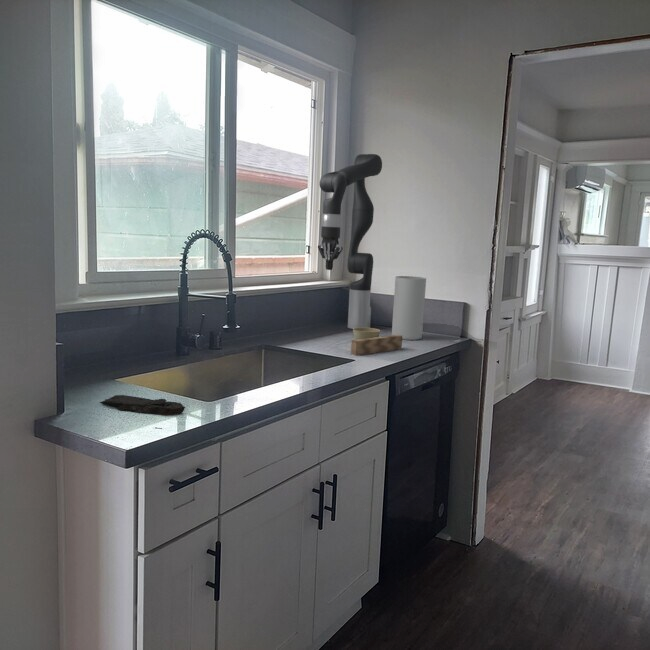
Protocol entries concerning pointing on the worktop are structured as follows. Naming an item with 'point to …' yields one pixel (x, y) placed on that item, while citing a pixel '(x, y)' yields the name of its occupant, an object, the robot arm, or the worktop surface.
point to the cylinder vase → (408, 307)
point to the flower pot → (365, 333)
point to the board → (376, 344)
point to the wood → (144, 405)
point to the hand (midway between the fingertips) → (328, 269)
